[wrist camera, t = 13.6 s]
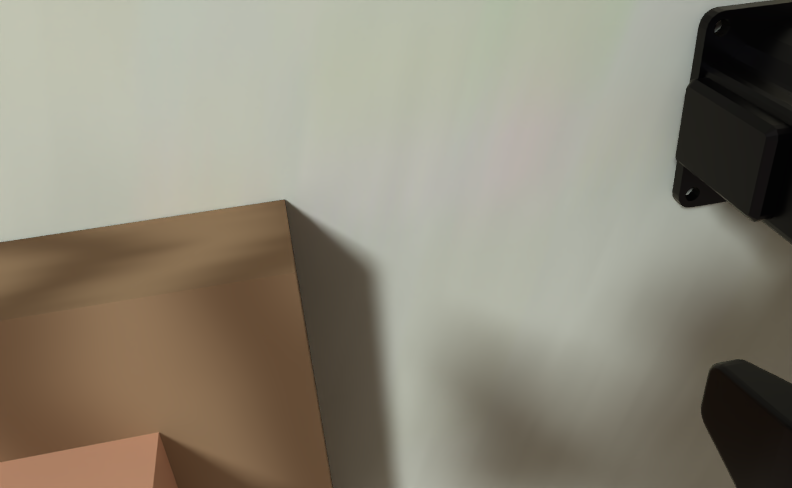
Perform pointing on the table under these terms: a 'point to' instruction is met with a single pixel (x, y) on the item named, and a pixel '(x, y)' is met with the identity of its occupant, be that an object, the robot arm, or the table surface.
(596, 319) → the table surface
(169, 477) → the terracotta block
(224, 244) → the walnut plinth
